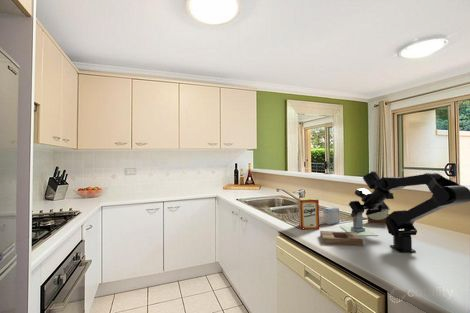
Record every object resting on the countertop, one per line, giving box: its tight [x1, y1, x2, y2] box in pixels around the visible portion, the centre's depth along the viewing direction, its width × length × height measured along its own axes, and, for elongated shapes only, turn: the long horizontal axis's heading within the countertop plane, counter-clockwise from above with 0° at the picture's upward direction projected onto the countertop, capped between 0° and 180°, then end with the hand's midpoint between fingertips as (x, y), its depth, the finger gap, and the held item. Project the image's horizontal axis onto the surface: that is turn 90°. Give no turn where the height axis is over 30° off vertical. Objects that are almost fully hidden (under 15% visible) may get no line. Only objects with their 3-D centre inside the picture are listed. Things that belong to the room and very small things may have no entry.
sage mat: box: [340, 225, 379, 237], centre depth 118 cm, size 14×12×1 cm
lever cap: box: [351, 213, 366, 232], centre depth 118 cm, size 5×4×12 cm
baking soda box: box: [297, 197, 320, 230], centre depth 126 cm, size 10×6×16 cm
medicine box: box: [322, 206, 340, 225], centre depth 133 cm, size 8×4×9 cm, turn 111°
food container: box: [365, 205, 391, 225], centre depth 132 cm, size 12×6×10 cm, turn 74°
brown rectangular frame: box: [319, 230, 364, 247], centre depth 105 cm, size 10×16×2 cm, turn 77°
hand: (358, 215), depth 117 cm, fingers open, 9 cm apart
